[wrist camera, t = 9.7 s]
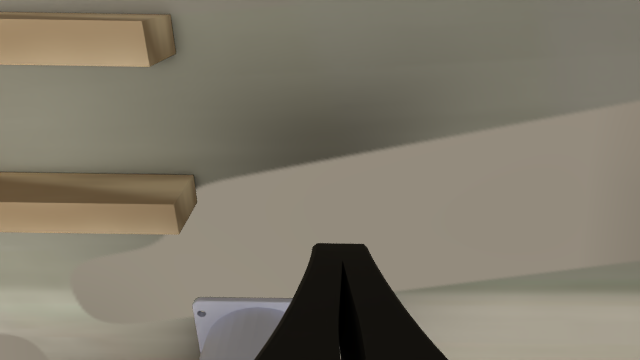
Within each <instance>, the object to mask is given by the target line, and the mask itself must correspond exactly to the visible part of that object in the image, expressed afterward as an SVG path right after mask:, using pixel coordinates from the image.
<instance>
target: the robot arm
mask: <svg viewBox="0 0 640 360" xmlns="http://www.w3.org/2000/svg"><path fill="white" fill-rule="evenodd" d="M192 307H193V313H194V319H195V325H196V330H197V336H198V342H199V348H200V353H201V355H200V358H199V360H340V354H341V360H448V359H447V358H446V357H445V356H444V355H443V353H442V352H441V351H440V350H439V349H438V348H437V347H436V346H435V345H434V344H433V342H432V341H431V340H430V339H429V338H428V337H427V335H426V334H425V333H424V332H423V331H422V329H421V328H420V327H419V326H418V324H417V323H416V322H415V321H414V319H413V318H412V317H411V316H410V314H409V313H408V312H407V310H406V309H405V308H404V306H403V305H402V304H401V302H400V301H399V299H398V298H397V296H396V295H395V293H394V292H393V291H392V289H391V288H390V286H389V285H388V283H387V282H386V280H385V279H384V277H383V275H382V274H381V272H380V270H379V269H378V267H377V265H376V264H375V262H374V260H373V258H372V256H371V254H370V253H369V251H368V248H367V247H366V246H365V245H364V244H328V243H327V244H326V243H318V244H316V245H314V246H313V249H312V254H311V257H310V261H309V264H308V266H307V269H306V272H305V274H304V276H303V279H302V281H301V283H300V285H299V287H298V289H297V291H296V293H295V295H294V297H293V298H232V297H229V298H227V297H198V298H196V299H195V300H194V303H193V306H192ZM201 311H204V312H201ZM339 346H340V349H339Z"/></svg>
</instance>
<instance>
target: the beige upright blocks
mask: <svg viewBox="0 0 640 360" xmlns="http://www.w3.org/2000/svg"><path fill="white" fill-rule="evenodd" d="M174 54H176V51H175V44H174V37H173V30H172V23H171V16H170V15H160V14H96V13H32V12H0V64H5V65H71V66H137V67H150V66H152V65H154V64H156V63H158V62H160V61H162V60H164V59H166V58H168V57H170V56H172V55H174ZM196 204H197V197H196V190H195V183H194V176H193V175H157V174H87V173H17V172H0V232H33V233H106V234H180V232H181V230H182V228H183V226H184V225H185V223H186V221H187V220H188V218H189V216H190V214H191V212H192V211H193V208H194V207H195V205H196Z"/></svg>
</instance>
